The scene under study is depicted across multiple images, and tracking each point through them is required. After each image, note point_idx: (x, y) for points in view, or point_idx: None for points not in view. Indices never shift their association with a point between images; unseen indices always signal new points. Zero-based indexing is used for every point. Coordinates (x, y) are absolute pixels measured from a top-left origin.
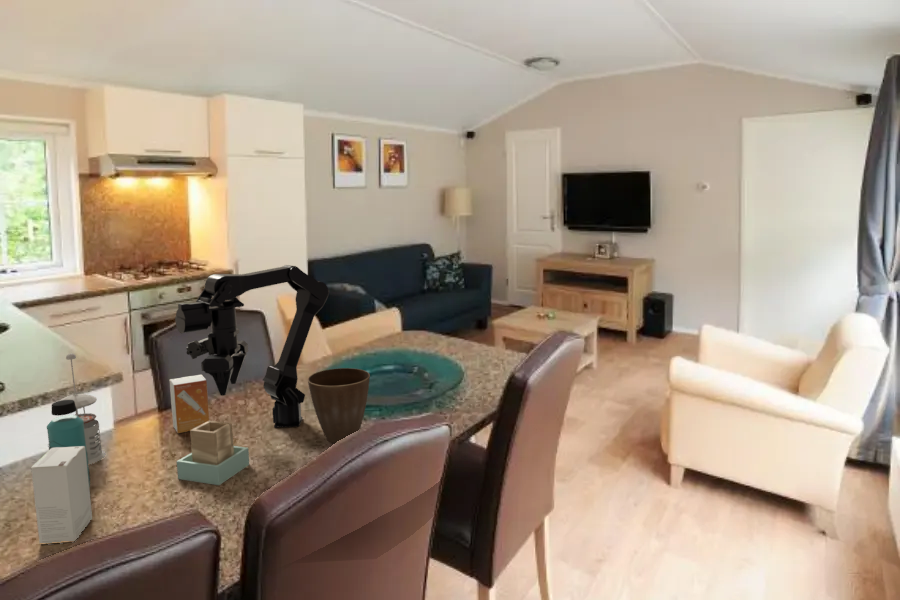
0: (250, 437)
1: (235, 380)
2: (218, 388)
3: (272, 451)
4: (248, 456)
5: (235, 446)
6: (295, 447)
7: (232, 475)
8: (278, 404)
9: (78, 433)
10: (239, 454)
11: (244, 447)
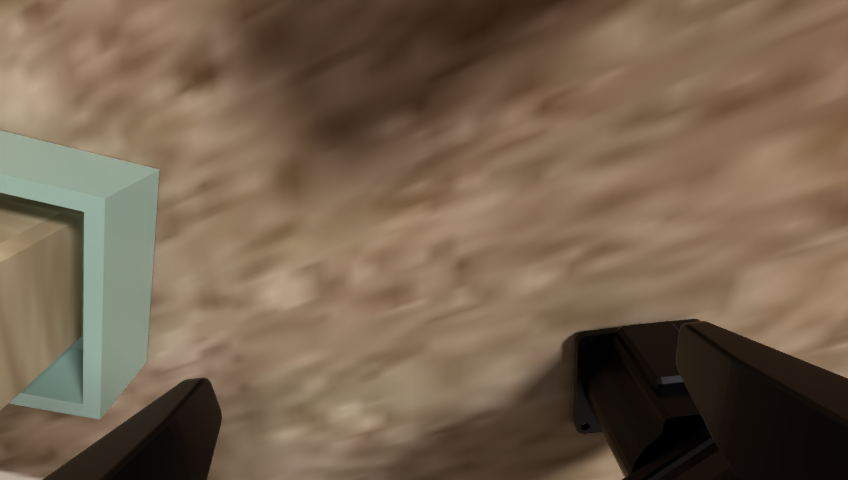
0: (458, 261)
1: (698, 401)
2: (89, 456)
3: (297, 402)
4: (122, 387)
5: (94, 360)
6: (347, 466)
7: None
8: (649, 438)
9: None
10: (24, 402)
11: (96, 403)
